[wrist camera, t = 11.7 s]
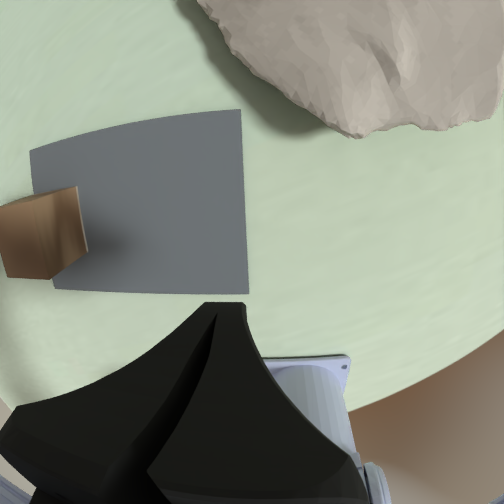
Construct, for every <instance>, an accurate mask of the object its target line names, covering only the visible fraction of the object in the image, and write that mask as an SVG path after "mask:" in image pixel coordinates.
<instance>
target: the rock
mask: <svg viewBox="0 0 504 504" xmlns="http://www.w3.org/2000/svg"><path fill="white" fill-rule="evenodd" d="M196 1H197V2H198V4H199V5H200V6H201V7H202V9H203V10H204V11H205V13H206V14H207V15H208V17H209V19H210V20H212V21H214V22H216V23H217V24H218V27H219V29H220V30H221V32H222V34H223V36H224V40H225V43H226V44H227V45H228V47H229V48H230V51H231V53H232V54H233V55H234V56H235V57H237V58H238V59H239V60H241V61H242V63H243V64H244V65H246V66H247V67H248V68H249V69H250V71H251V72H252V73H253V74H254V75H255V76H257V77H259V78H261V79H263V80H265V81H267V82H268V83H270V84H272V85H273V86H275V87H276V88H278V89H279V90H280V91H282V93H283V94H284V96H285V97H287V98H288V99H289V100H291V101H292V102H293V103H295V104H296V105H298V106H300V107H302V108H304V109H307V110H308V111H309V112H311V113H312V114H313V115H315V116H316V117H318V118H319V119H321V120H322V121H323V122H324V123H325V124H326V125H327V126H328V127H330V128H332V129H334V130H336V131H337V132H339V133H341V134H342V135H344V136H346V137H348V138H351V137H353V138H354V139H361V138H365V137H366V136H368V135H369V134H370V133H372V132H374V131H377V130H379V131H387V130H389V129H391V128H394V127H396V126H399V125H407V124H414V125H416V126H418V127H419V128H420V129H422V130H433V131H445V130H447V129H448V128H449V127H450V128H452V127H453V126H460V125H461V124H462V122H469V121H471V120H472V121H476V122H479V121H482V120H485V119H490V118H491V116H492V115H493V114H494V113H495V111H496V109H497V107H498V104H499V102H500V99H501V97H502V92H503V90H504V0H196Z"/></svg>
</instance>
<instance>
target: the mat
mask: <svg viewBox="0 0 504 504" xmlns="http://www.w3.org/2000/svg"><path fill="white" fill-rule="evenodd" d="M30 164H31V175H32V184H33V191H34V194H39V193H43V192H48V191H53V190H58V189H64V188H69V187H74V186H77V188H78V195H79V202H80V209H81V215H82V221H83V227H84V232H85V237H86V242H87V247H88V252H87V253H86V254H84V255H83V256H81V257H80V258H79V259H77V260H76V261H74V262H73V263H72V264H70V265H69V266H67V267H66V268H65V269H63V270H62V271H61V272H59V273H58V274H57V275H55V276H54V277H53V278H52V280H53V283H54V287H55V289H67V290H83V291H102V292H125V293H157V294H249V280H248V260H247V239H246V218H245V196H244V174H243V152H242V128H241V110H240V109H236V110H222V111H210V112H200V113H191V114H183V115H176V116H169V117H162V118H156V119H150V120H144V121H139V122H133V123H128V124H123V125H119V126H114V127H110V128H105V129H101V130H97V131H93V132H89V133H85V134H81V135H78V136H74V137H71V138H67V139H64V140H60V141H57V142H54V143H51V144H48V145H45V146H42V147H39V148H36V149H33V150H30Z"/></svg>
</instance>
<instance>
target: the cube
mask: <svg viewBox="0 0 504 504" xmlns="http://www.w3.org/2000/svg"><path fill="white" fill-rule="evenodd" d="M87 252H88V247H87V242H86V237H85V232H84V227H83V221H82V215H81V209H80V202H79V195H78V188H77V186H74V187H69V188H64V189H58V190H53V191H48V192H43V193H39V194H34V195H31V196H28V197H25V198H22V199H19V200H16V201H14V202H11V203H8V204H5V205H3V206H0V253H1V257H2V260H3V264H4V267H5V271H6V274H7V277H10V278H27V279H45V280H50V279H51V278H53V277H54V276H55V275H57V274H58V273H59V272H61V271H62V270H63V269H65V268H66V267H67V266H69V265H70V264H72V263H73V262H74V261H76V260H77V259H79V258H80V257H81V256H83V255H84V254H86V253H87Z"/></svg>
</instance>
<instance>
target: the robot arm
mask: <svg viewBox="0 0 504 504" xmlns="http://www.w3.org/2000/svg"><path fill="white" fill-rule="evenodd" d="M350 364H351V359H350V357H349V356H334V357H319V358H299V359H262V357H261V355H260V353H259V351H258V349H257V347H256V345H255V343H254V340H253V338H252V335H251V332H250V330H249V326H248V323H247V313H246V305H245V304H244V303H243V302H205V303H203V304H202V305H201V306H200V307H199V308H198V309H197V310H196V311H195V312H194V313H193V314H191V315H190V316H189V317H188V318H187V319H186V320H185V321H184V322H183V323H182V324H181V325H179V326H178V327H177V328H176V329H175V330H174V331H173V332H172V333H170V334H169V335H168V336H167V337H165V338H164V339H163V340H162V341H160V342H159V343H158V344H157V345H155V346H154V347H153V348H151V349H150V350H149V351H147V352H146V353H145V354H143V355H142V356H140V357H139V358H137V359H136V360H134V361H132V362H131V363H129V364H128V365H126V366H124V367H123V368H121V369H119V370H117V371H115V372H114V373H112V374H110V375H108V376H106V377H104V378H102V379H100V380H98V381H96V382H94V383H91V384H89V385H87V386H84V387H82V388H79V389H77V390H74V391H71V392H69V393H66V394H63V395H60V396H57V397H53V398H50V399H46V400H42V401H38V402H34V403H29V404H25V405H19V406H17V407H16V408H15V410H14V411H13V413H12V414H11V416H10V417H9V418H8V420H7V421H6V423H5V424H4V426H3V427H2V429H1V430H0V454H1V455H2V456H3V457H4V458H5V459H6V461H7V462H8V463H9V464H11V465H12V466H13V467H14V468H15V469H16V470H17V471H18V472H19V473H20V474H21V475H22V476H24V477H25V478H26V479H27V480H28V481H29V482H31V483H32V484H33V485H34V486H35V487H37V488H36V490H35V492H34V494H33V496H30V495H29V494H27V493H26V492H24V491H23V490H21V489H19V488H18V487H17V486H15V485H14V484H12V483H11V482H9V481H8V480H6V479H5V478H4V477H2V476H1V475H0V504H391V498H390V494H389V490H388V485H387V481H386V478H385V475H384V473H383V470H382V468H381V467H379V466H377V465H374V463H372V462H369V463H365V464H364V465H363V467H364V473H363V469H362V464H361V460H360V456H359V453H358V452H356V449H355V444H354V440H353V435H352V431H351V426H350V422H349V418H348V413H347V409H346V405H345V401H344V397H343V394H344V390H345V386H346V382H347V377H348V373H349V369H350ZM343 365H345V366H343ZM488 504H504V494H502V495H501V496H499V497H498V498H496V499H494V500H493V501H491V502H489V503H488Z"/></svg>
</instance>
